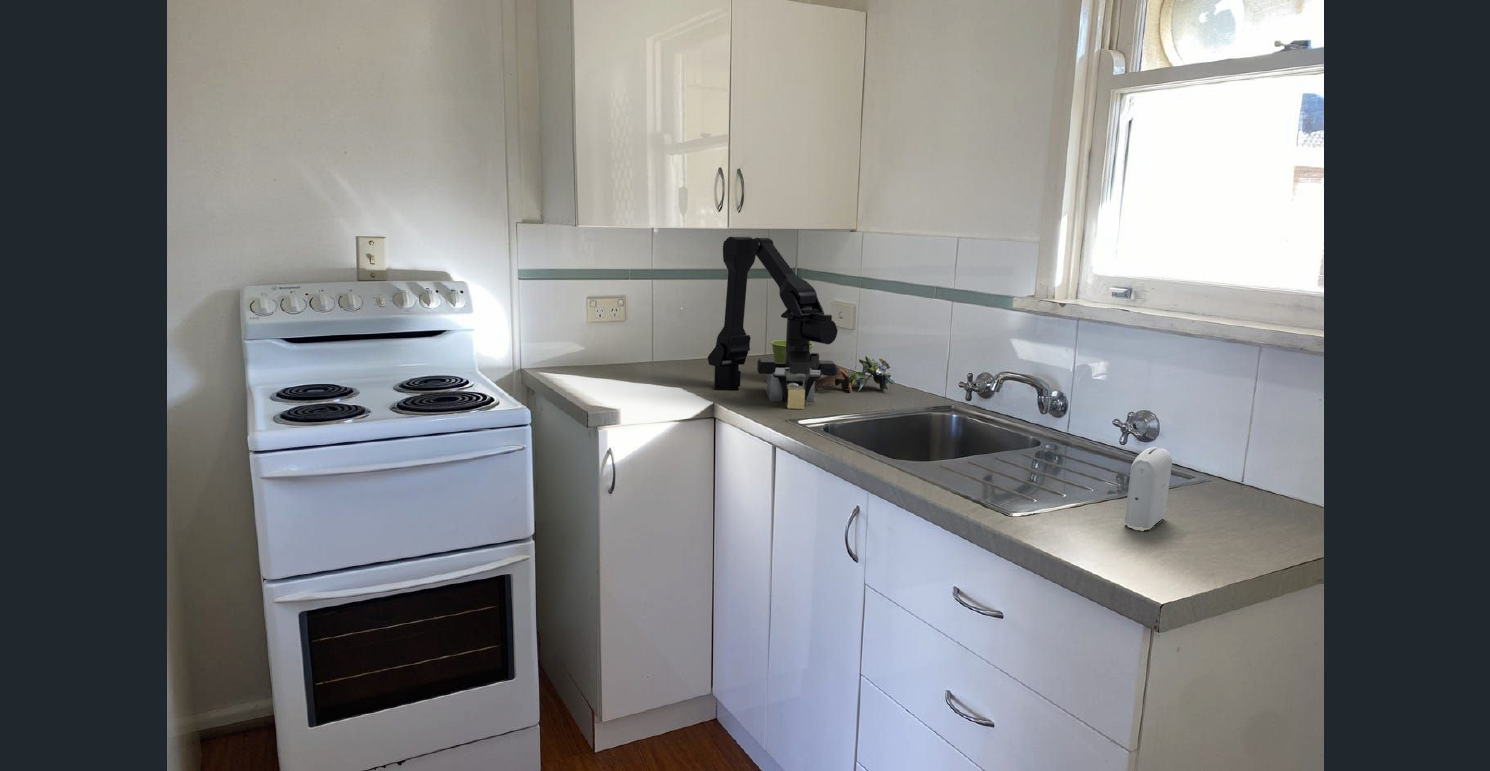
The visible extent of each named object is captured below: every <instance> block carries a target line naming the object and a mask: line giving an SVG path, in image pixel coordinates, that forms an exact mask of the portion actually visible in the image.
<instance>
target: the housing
mask: <svg viewBox="0 0 1490 771" xmlns="http://www.w3.org/2000/svg"><path fill="white" fill-rule="evenodd" d="M785 375H786V381H797V383H798V384H799V386H803V387H804V384H805V377H806V375H805V374H791V373H790V371H785ZM766 394H767V397H768V399H769V401H770V402H782V401H783V392H782V388H781V385H780V382H779V380H778V378H775V377H774V376H773V374H766ZM807 402H808V403H814V402H815V382H814V383H813V385H812V387H811V389H810V391H809V394H808V396H807V399H806V401H805V403H807Z"/></svg>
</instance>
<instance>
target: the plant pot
mask: <svg viewBox="0 0 1490 771" xmlns="http://www.w3.org/2000/svg"><path fill="white" fill-rule="evenodd" d="M769 344H770V345H772V352H773V356H774V357H773V359H774V361H775V363H785V352H786V339H779V340H772V341H770V343H769ZM813 347H815V345H814V343H812V342H810V349H809V352H810V354H811V353H812V349H813Z"/></svg>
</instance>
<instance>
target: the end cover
mask: <svg viewBox="0 0 1490 771" xmlns="http://www.w3.org/2000/svg"><path fill="white" fill-rule="evenodd" d="M786 384H787V402H785V405H786V407H787V409H793V410H794V409H797V410H798V409H799V410H800V409H802V410H804V409H805V403H806V402H805V389H804V387H803V386H799V384H798V383H797V381H786Z"/></svg>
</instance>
